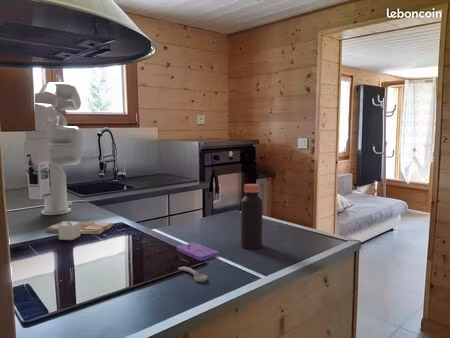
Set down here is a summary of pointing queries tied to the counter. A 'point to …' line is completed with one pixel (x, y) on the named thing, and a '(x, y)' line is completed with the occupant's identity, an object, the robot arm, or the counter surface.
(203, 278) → the spoon
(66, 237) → the grey cube
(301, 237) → the counter surface
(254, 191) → the bottle
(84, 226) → the board
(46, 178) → the syrup box
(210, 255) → the sponges
